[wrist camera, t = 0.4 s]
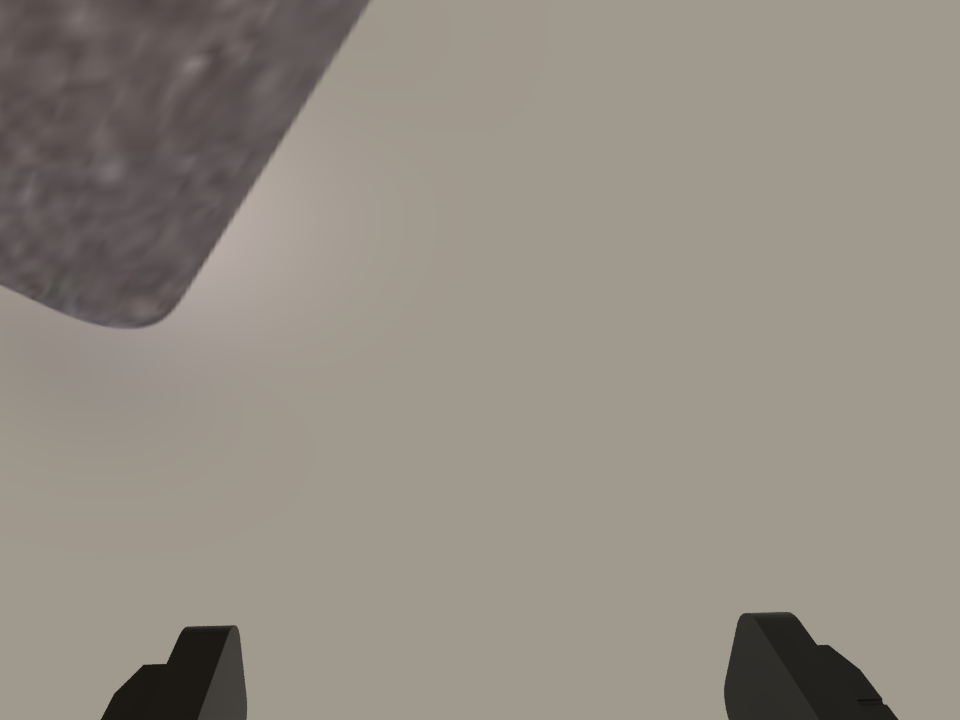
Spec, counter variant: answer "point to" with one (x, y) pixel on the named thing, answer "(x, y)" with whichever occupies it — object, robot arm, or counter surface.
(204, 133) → the counter surface
